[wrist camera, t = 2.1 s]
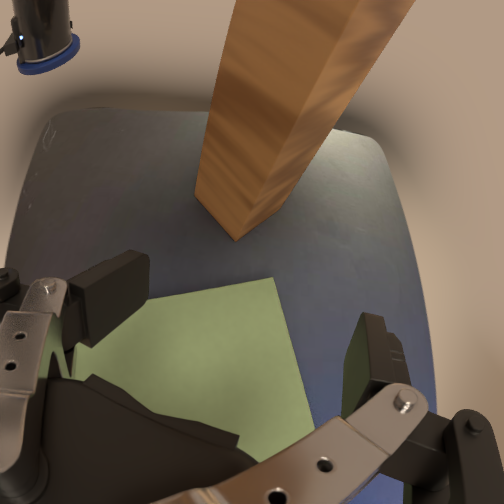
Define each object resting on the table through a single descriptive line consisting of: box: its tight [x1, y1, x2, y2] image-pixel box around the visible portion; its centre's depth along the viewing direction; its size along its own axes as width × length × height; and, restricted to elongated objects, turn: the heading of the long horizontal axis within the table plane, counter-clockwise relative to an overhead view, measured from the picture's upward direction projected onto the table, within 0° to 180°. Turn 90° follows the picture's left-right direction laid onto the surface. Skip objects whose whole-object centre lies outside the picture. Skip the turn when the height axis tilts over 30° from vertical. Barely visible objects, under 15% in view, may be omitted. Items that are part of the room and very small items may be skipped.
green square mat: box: [75, 277, 315, 463], centre depth 22 cm, size 18×18×1 cm
